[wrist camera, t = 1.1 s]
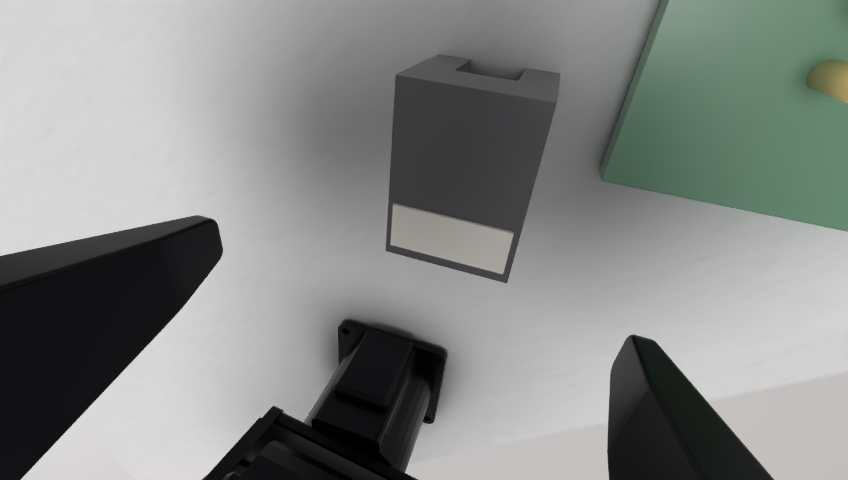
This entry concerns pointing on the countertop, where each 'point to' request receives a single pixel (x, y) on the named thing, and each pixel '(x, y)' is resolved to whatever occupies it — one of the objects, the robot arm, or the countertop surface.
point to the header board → (741, 108)
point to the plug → (465, 163)
